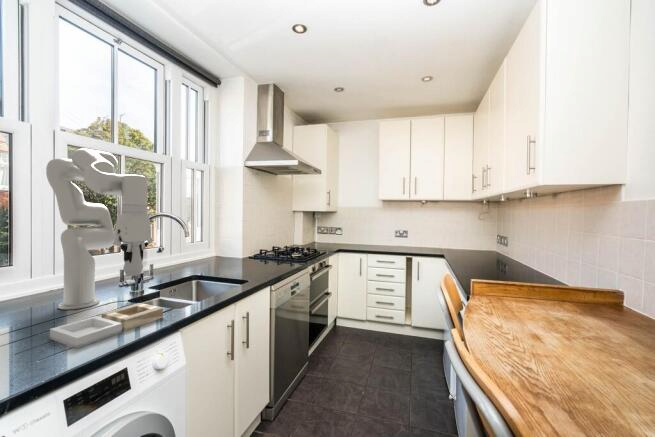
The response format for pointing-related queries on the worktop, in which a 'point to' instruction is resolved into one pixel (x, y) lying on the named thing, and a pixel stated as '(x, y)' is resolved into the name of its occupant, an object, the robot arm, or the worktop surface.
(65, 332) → the grey tray
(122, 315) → the birch holder
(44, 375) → the worktop surface
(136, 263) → the salt shaker
